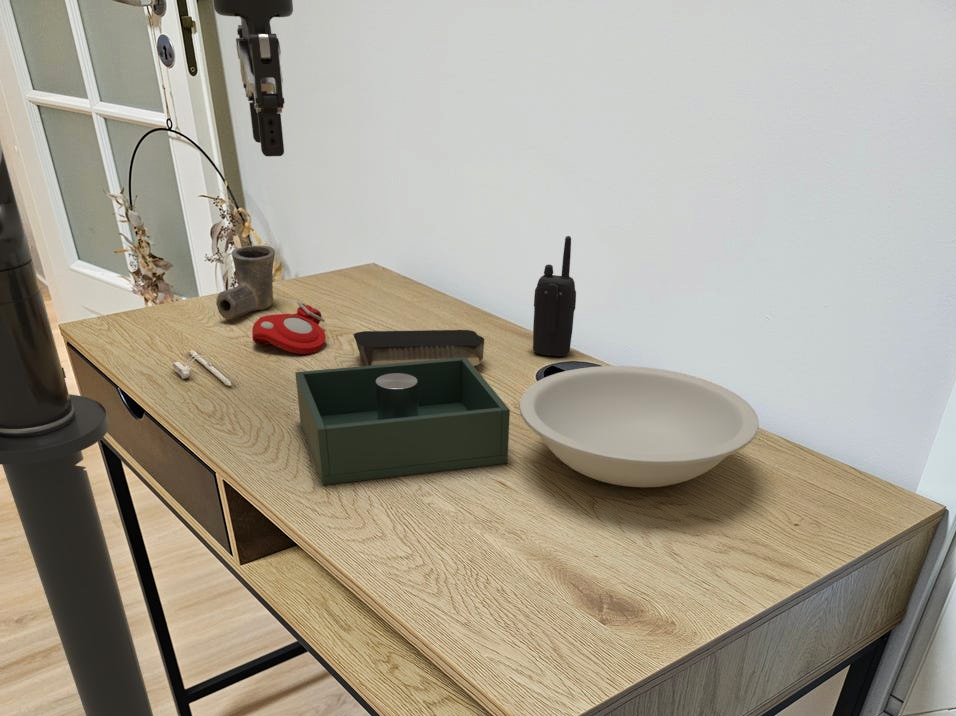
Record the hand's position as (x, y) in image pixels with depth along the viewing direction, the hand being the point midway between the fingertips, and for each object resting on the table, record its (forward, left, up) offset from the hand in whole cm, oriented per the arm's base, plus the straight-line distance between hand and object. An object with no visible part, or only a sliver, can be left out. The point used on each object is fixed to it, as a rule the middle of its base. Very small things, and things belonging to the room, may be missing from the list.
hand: (268, 148), depth 93 cm
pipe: (-2, +31, -26) cm, 41 cm away
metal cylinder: (+9, -19, -25) cm, 32 cm away
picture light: (-11, +8, -26) cm, 30 cm away
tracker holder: (+3, +16, -26) cm, 31 cm away
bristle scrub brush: (+17, +4, -26) cm, 31 cm away
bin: (+9, -19, -26) cm, 33 cm away
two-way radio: (+35, +3, -26) cm, 44 cm away
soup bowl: (+31, -31, -26) cm, 51 cm away
